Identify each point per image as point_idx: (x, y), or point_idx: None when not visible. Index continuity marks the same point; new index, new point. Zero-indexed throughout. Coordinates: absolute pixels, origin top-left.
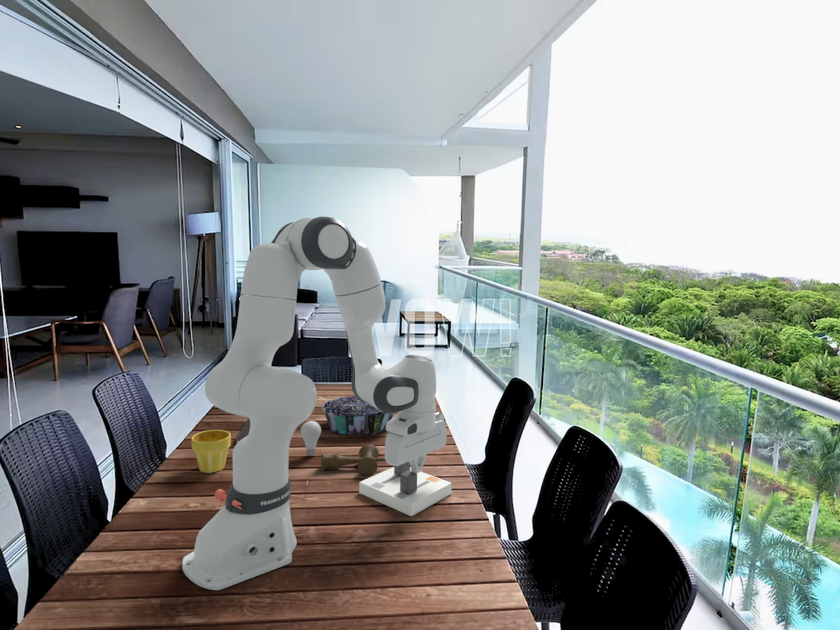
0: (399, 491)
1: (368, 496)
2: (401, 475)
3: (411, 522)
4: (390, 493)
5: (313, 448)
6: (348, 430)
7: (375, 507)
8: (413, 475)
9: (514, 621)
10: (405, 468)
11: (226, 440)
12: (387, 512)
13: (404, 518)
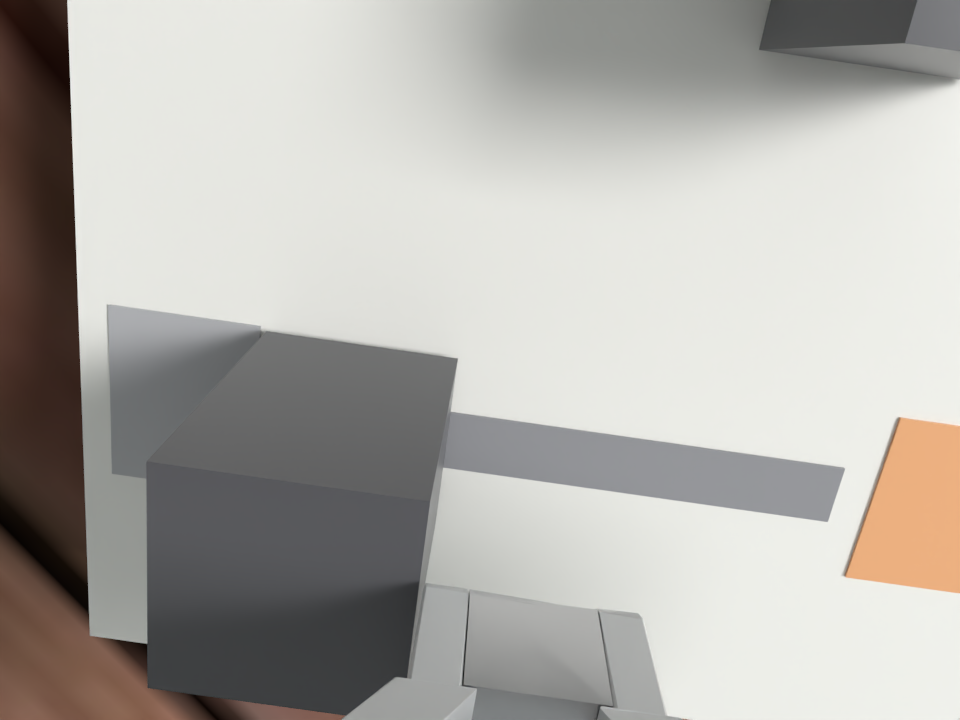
0: (270, 317)
1: None
2: (158, 480)
3: (68, 599)
4: (121, 239)
5: None
6: None
7: (13, 74)
8: (288, 700)
9: None
10: (918, 61)
11: None
12: (35, 284)
13: (76, 508)
